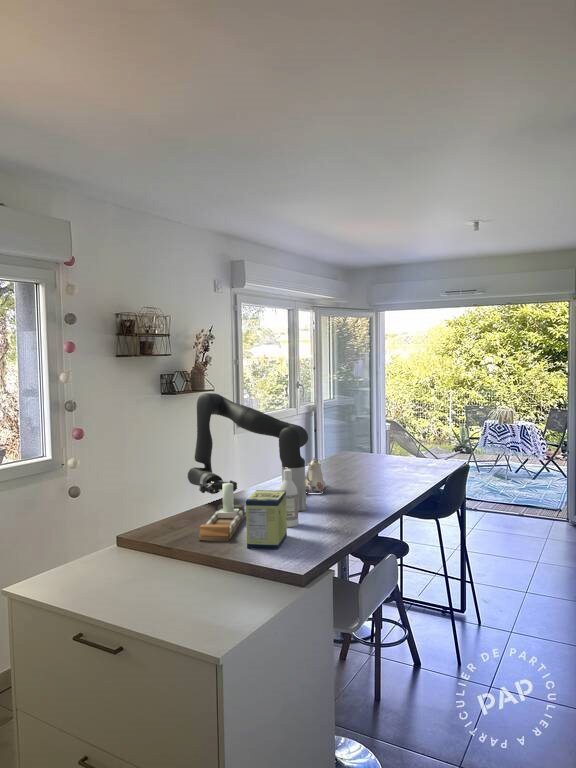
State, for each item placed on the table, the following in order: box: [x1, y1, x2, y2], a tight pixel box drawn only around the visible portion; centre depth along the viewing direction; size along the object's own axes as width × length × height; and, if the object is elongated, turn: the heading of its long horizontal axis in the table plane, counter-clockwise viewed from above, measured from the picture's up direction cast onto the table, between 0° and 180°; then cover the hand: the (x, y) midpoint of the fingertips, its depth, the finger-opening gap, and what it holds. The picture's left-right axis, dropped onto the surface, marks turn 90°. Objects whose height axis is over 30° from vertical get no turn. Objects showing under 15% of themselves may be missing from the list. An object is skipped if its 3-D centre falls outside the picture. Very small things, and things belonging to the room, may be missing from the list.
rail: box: [198, 504, 246, 542], centre depth 210 cm, size 32×10×4 cm, turn 174°
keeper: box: [217, 483, 239, 518], centre depth 218 cm, size 6×7×12 cm
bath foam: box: [278, 469, 299, 528], centre depth 211 cm, size 7×7×20 cm
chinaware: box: [305, 456, 327, 493], centre depth 265 cm, size 28×17×17 cm, turn 155°
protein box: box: [245, 489, 288, 550], centre depth 192 cm, size 10×16×16 cm
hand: (223, 490), depth 223 cm, fingers open, 8 cm apart
